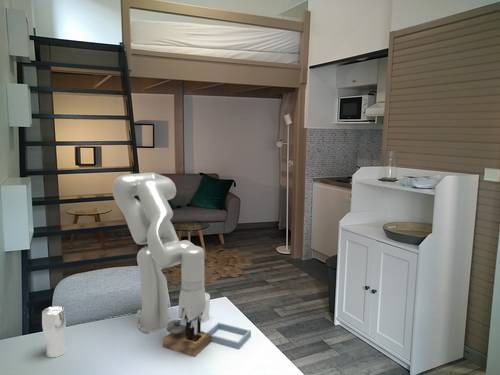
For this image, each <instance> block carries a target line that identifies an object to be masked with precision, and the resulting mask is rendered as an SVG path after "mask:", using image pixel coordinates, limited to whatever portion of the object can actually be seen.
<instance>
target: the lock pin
mask: <svg viewBox="0 0 500 375" xmlns="http://www.w3.org/2000/svg"><path fill="white" fill-rule="evenodd" d="M198 318H199V315H198V316H197V317H195V318H194V320H193V327H194V338H193V339H192V338H189V340H191V341H195V342H196V341H198ZM188 322H189V323H190V321H188Z"/></svg>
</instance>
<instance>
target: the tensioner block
mask: <svg viewBox="0 0 500 375" xmlns="http://www.w3.org/2000/svg"><path fill="white" fill-rule="evenodd" d="M180 322H181V319H174V320H172V321H170V322H169V323H168V324H167V328H166V330H167V332H168V333H169V334H167V335H166V336H164V337H163V338H162V340H161V341H162V348H163V349H168V350H170V351H175V352H177V353H180V354H183V355H187V356H190V357H193V358H196V357H197V356H198V355H199V354H200V353H201V352H202V351H203V350H204V349H205V348H207V347H208V346H209V345H210V344H211V343H212V342H211V334H209V333H207V332H205V331H201V332H200V333H198V341H196V342H195V341H191V340H189V337H186V327H185V326H184V325H180Z"/></svg>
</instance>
